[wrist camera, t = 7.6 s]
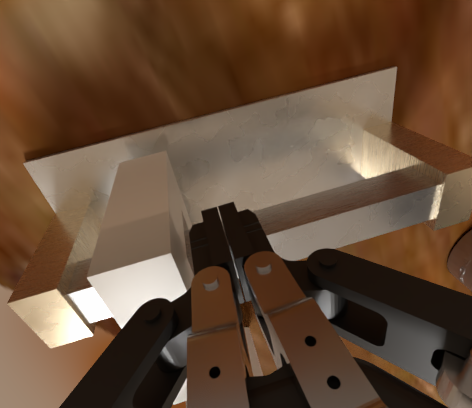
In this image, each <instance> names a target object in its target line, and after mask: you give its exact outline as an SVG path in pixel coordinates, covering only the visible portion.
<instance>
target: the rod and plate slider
mask: <svg viewBox="0 0 472 408" xmlns="http://www.w3.org/2000/svg"><path fill="white" fill-rule="evenodd" d="M396 73H397V67H396V66H392V67H388V68H384V69H380V70H376V71H372V72H368V73H364V74H361V75H357V76H353V77H349V78H345V79H341V80H337V81H333V82H330V83H326V84H322V85H318V86H314V87H310V88H306V89H302V90H299V91H295V92H291V93H287V94H283V95H279V96H275V97H271V98H268V99H264V100H260V101H256V102H252V103H248V104H244V105H240V106H237V107H233V108H229V109H225V110H221V111H217V112H213V113H209V114H206V115H202V116H198V117H194V118H190V119H186V120H182V121H178V122H175V123H171V124H167V125H163V126H159V127H155V128H151V129H147V130H144V131H140V132H136V133H132V134H128V135H124V136H120V137H116V138H113V139H109V140H105V141H101V142H97V143H93V144H89V145H85V146H82V147H78V148H74V149H70V150H66V151H62V152H58V153H54V154H51V155H47V156H43V157H39V158H35V159H31V160H27V161H25V162H24V163H23V164H24V166H25V167H26V169H27V170H28V172H29V173H30V175H31V176H32V178H33V180H34V181H35V183H36V184H37V186H38V187H39V189H40V190H41V192H42V193H43V195H44V196H45V198H46V199H47V201H48V202H49V204H50V206H51V207H52V209H53V210H54V212H55V213H56V214H55V216H54V217H53V219H52V221H51V223H50V225H49V227H48V229H47V230H46V232H45V234H44V236H43V238H42V240H41V242H40V243H39V245H38V247H37V249H36V251H35V253H34V254H33V256H32V258H31V260H30V262H29V264H28V266H27V267H26V269H25V271H24V273H23V275H22V277H21V279H20V280H19V282H18V284H17V286H16V288H15V290H14V292H13V293H12V295H11V297H10V299H9V301H8V303H7V304H8V305H9V306H10V307H11V308H12V309H13V310H14V311H15V312H16V313H17V314H18V315H19V316H20V317H21V318H22V320H23V321H25V323H26V324H27V325H29V327H30V328H31V329H32V330H33V331H34V332H35V333H36V334H37V335H38V336H39V337H40V338H41V339H42V340H43V341H44V342H45V343H46V344H47V345H48V346H49V347H50V348H54V347H57V346H61V345H64V344H67V343H70V342H74V341H77V340H80V339H83V338H87V337H90V336H93V335H94V330H95V326H96V321H99V320H102V319H106V318H109V317H112V314H111V313H110V311H109V310H108V308H107V307H106V305H105V304H104V303H103V301H102V300H101V298H100V297H99V295H98V294H97V292H96V291H95V289H94V288H93V286H92V285H91V284H90V282H89V281H88V279H87V274H88V271H89V267H90V264H91V260H92V257H93V253H94V250H95V246H96V243H97V239H98V236H99V232H100V229H101V225H102V222H103V218H104V215H105V211H106V208H107V204H108V201H109V197H110V194H111V190H112V186H113V183H114V179H115V176H116V172H117V169H118V165H119V163H121V162H124V161H128V160H132V159H136V158H139V157H143V156H147V155H151V154H155V153H158V152H162V151H166V152H167V155H168V158H169V161H170V163H171V166H172V169H173V172H174V175H175V178H176V181H177V184H178V186H179V189H180V192H181V195H182V198H183V201H184V204H185V207H186V209H187V212H188V215H189V218H190V221H191V224H192V225H194V224H198V223H201V222H203V218H202V213H201V211H202V210H206V209H209V208H213V207H216V206H217V209H218V212H219V208H218V206H220V205H223V204H227V203H230V202H234V204H235V206H236V209H237V211H238V212H239V211H243V210H246V209H249V210H250V211H252V212H253V213H255V214H256V216H257V218H258V220H259V223H260V224H261V226H262V229H263V230H264V232H265V234H266V236H267V238H268V240H269V242H270V244H271V246H272V248H273V250H274V252H275V253H276V254H277V255H279V256H280V257H281V258H283V259H285V260H290V261H296V260H300V259H303V258H306V257H309V255H310V254H311V253H313V252H314V251H316V250H319V249H324V248H330V249H336V248H339V247H342V246H346V245H349V244H352V243H355V242H359V241H362V240H365V239H369V238H372V237H375V236H378V235H382V234H385V233H388V232H392V231H395V230H398V229H401V228H405V227H408V226H411V225H415V224H418V223H421V222H423V223H425V224H426V225H427V226H428V227H430V228H431V229H432V230H438V229H441V228H444V227H447V226H451V225H454V224H457V223H460V222H464V221H467V220H469V217H470V214H471V211H472V157H471V156H469V155H467V154H464V153H462V152H460V151H457V150H455V149H453V148H451V147H448V146H446V145H444V144H441V143H439V142H437V141H435V140H432V139H430V138H428V137H425V136H423V135H421V134H419V133H416V132H414V131H412V130H410V129H407V128H405V127H403V126H400V125H398V124H396V123H394V122H391V121H392V111H393V102H394V92H395V83H396ZM219 216H220V212H219ZM220 219H221V216H220ZM221 222H222V219H221ZM222 226H223V223H222ZM223 229H224V227H223ZM189 232H190V230H186V231H184V237H185V246H186V255H187V259H188V262H189V264H190V267H191V269H192V272H193V274H194V268H193V261H192V254H191V246H190V239H189ZM224 232H225V230H224ZM225 235H226V234H225ZM226 239H227V238H226ZM227 242H228V241H227ZM228 245H229V244H228ZM229 249H230V248H229ZM230 252H231V251H230ZM231 255H232V254H231ZM233 262H234V261H233ZM234 266H235V264H234ZM235 269H236V267H235ZM236 273H237V271H236ZM237 277H238V274H237ZM238 278H239V277H238Z"/></svg>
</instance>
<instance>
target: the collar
mask: <svg viewBox="0 0 472 408" xmlns="http://www.w3.org/2000/svg"><path fill="white" fill-rule="evenodd" d="M191 227H192V224H191V221H190V218H189V215H188V212H187V209H186V207H185V204H184V201H183V198H182V195H181V192H180V189H179V186H178V184H177V181H176V178H175V175H174V172H173V169H172V166H171V163H170V161H169V158H168V155H167V152H166V151H162V152H158V153H155V154H151V155H147V156H143V157H139V158H136V159H132V160H128V161H124V162H121V163H119V165H118V169H117V172H116V176H115V179H114V183H113V186H112V190H111V194H110V197H109V201H108V204H107V208H106V211H105V215H104V218H103V222H102V225H101V229H100V232H99V236H98V239H97V243H96V246H95V250H94V253H93V257H92V260H91V264H90V267H89V271H88V274H87V279H88V281H89V282H90V284H91V285H92V286H93V288H94V289H95V291H96V292H97V294H98V295H99V297H100V298H101V300H102V301H103V303H104V304H105V305H106V307H107V308H108V310H109V311H110V313H111V314H112V316H113V317H114V319H115V320H116V321H117V323H118V324H119V326H120V327H121V329H122V328H123V327H124V326H125V324H126V323H127V322H128V321H129V319H130V318H131V317H132V316H133V314H134V313H135V312H136V311H137V309H138V308H139V307H140V306H141V305H143V304H144V303H146V302H147V301H149V300H152V299H155V298H165V299H167V300H169V301H170V302H172V301H174V300H175V299H177V298H179V297H180V296H182V295H183V294H184V293H186V292H187V291H188V290H189V289H190V287H191V283H192V280H193V278H194V274H193V272H192V269H191V267H190V264H189V262H188V259H187V255H186V246H185V237H184V231H186V230H190V229H191ZM184 401H187V379H186V381H185V382H184V384H183V386H182V388H181V390H180V392H179V393H178V395H177V397H176V399H175V401H174V402H173V404H178V403H181V402H184Z"/></svg>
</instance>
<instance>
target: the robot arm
mask: <svg viewBox="0 0 472 408" xmlns="http://www.w3.org/2000/svg"><path fill="white" fill-rule="evenodd" d="M218 208H219V212H220V216H221V219H222V222H221V219H220V216H219V212H218V209H217V206H216V207H213V208H209V209H206V210H202V211H201V213H202V218H203V222H201V223H198V224H194V225H192V227H191V229H190V232H189V239H190V246H191V254H192V261H193V268H194V278H193V280H192V283H191V287H190V289H189V290H188V291H187V292H186V293H184V294H183V295H182V296H180V297H179V298H177V299H175V300H174V301H172V302H170V301H169V300H167V299H165V298H155V299H152V300H149V301H147V302H146V303H144V304H143V305H141V306H140V307H139V308H138V309H137V311H136V312H135V313H134V314H133V316H132V317H131V318H130V319H129V321H128V322H127V323H126V324H125V326H124V327H123V328H122V329H121V331H120V332H119V333H118V334H117V336H116V337H115V338H114V339H113V341H112V342H111V343H110V344H109V346H108V347H107V348H106V350H105V351H104V352H103V353H102V355H101V356H100V357H99V358H98V360H97V361H96V362H95V363H94V365H93V366H92V367H91V368H90V370H89V371H88V372H87V373H86V375H85V376H84V377H83V378H82V380H81V381H80V382H79V383H78V385H77V386H76V387H75V388H74V390H73V391H72V392H71V393H70V395H69V396H68V397H67V398H66V400H65V401H64V402H63V403H62V405H61V406H60V407H59V408H171V406H172V404H173V402H174V401H175V399H176V397H177V395H178V393H179V392H180V390H181V388H182V386H183V384H184V382H185V381H186V379H187V408H448V407H449V408H472V296H469V295H466V294H464V293H461V292H458V291H455V290H452V289H449V288H446V287H443V286H440V285H437V284H434V283H432V282H429V281H426V280H423V279H420V278H417V277H414V276H411V275H408V274H405V273H402V272H399V271H397V270H394V269H391V268H388V267H385V266H382V265H379V264H376V263H373V262H370V261H367V260H365V259H362V258H359V257H356V256H353V255H350V254H347V253H344V252H341V251H338V250H335V249H330V248H324V249H319V250H316V251H314V252H313V253H311V254H310V255H309V257H308V259H307V261H290V260H285V259H283V258H281V257H280V256H279V255H277V254H276V253H275V252H274V250H273V248H272V246H271V244H270V242H269V240H268V238H267V236H266V234H265V232H264V230H263V229H262V226H261V224H260V223H259V220H258V218H257V216H256V214H255V213H253V212H252V211H250V210H249V209H246V210H243V211H239V212H238V211H237V209H236V206H235V204H234V202H230V203H227V204H223V205H220V206H218ZM222 223H223V226H222ZM223 227H224V229H223ZM224 230H225V232H224ZM225 234H226V235H225ZM226 238H227V239H226ZM227 241H228V242H227ZM228 244H229V245H228ZM229 248H230V249H229ZM230 251H231V252H230ZM231 254H232V255H231ZM233 261H234V262H233ZM234 264H235V266H234ZM447 265H448V270H449V271H450V273H451V274H452V275H453V276H455V277H456V278H457V279H458V280H459V281H460V282H461V283H463V284H464V285H465V286H466V287H467V288H468V289H470V290H471V291H472V230H470V231H469V232H468V233H467V234H466V235H464V236H463V237H462V238H461V239H460V241H459V242H458V243H457V244H456V245H455V247H454V248H453V250H452V252H451V254H450V256H449V258H448V264H447ZM235 267H236V269H235ZM236 271H237V273H236ZM237 274H238V277H239V280H240V284H241V287H242V290H243V293H244V297H245V300H246V302H247V301H250V300H251V301H252V304H253V307H254V311H255V315H256V318H257V321H258V323H259V326H260V328H261V330H262V333H263V335H264V337H265V340H266V342H267V345H268V347H269V349H270V352H271V354H272V356H273V359H274V361H275V364H276V367H277V370H276V371H274V372H273V373H272V374H270V375H267V376H253V372H252V367H251V361H250V356H249V351H248V345H247V340H246V334H245V329H244V324H243V320H242V319H243V314H242V310H241V306H240V304H241V303H244V299H243V295H242V291H241V288H240V284H239V280H238V277H237ZM339 336H341V337H342V338H344V339H346V340H348V341H350V342H352V343H354V344H356V345H358V346H360V347H362V348H364V349H365V350H367V351H369V352H371V353H373V354H375V355H377V356H379V357H381V358H383V359H385V360H387V361H388V362H390V363H392V364H394V365H396V366H398V367H400V368H402V369H404V370H406V371H408V372H410V373H411V374H413V375H415V376H417V377H419V378H421V379H423V380H425V381H427V382H429V383H431V384H433V385H434V386H436V388H437V391H438V393H439V395H440V397H441V399H442V400H443V401H444V403H445V404H446V405H447V406H448V407H446V406H445V405H443V404H441V403H439V402H438V401H436V400H434V399H433V398H431V397H429V396H427V395H426V394H424V393H422V392H420V391H419V390H417V389H415V388H414V387H412V386H410V385H408V384H407V383H405V382H403V381H401V380H400V379H398V378H396V377H395V376H393V375H391V374H389V373H388V372H386V371H384V370H383V369H381V368H379V367H377V366H375V365H374V364H371V363H369V362H367V361H365V360H362V359H358V358H355V357H353V356H352V355H351V353H350V352H349V350H348V349H347V347H346V346H345V344H344V343H343V341H342V340H341V338H340V337H339Z"/></svg>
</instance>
